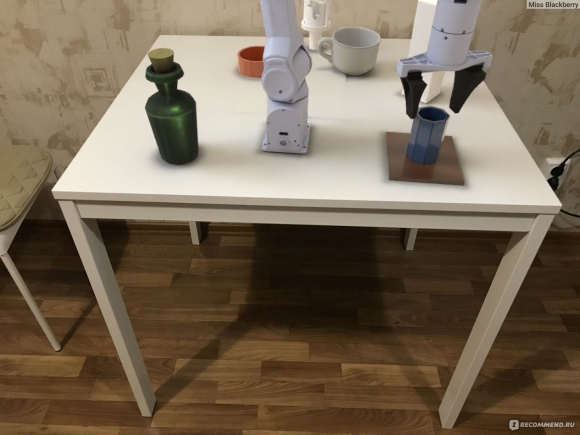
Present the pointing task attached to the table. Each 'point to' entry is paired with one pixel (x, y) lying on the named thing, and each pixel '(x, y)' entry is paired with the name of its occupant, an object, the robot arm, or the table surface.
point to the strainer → (316, 20)
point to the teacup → (352, 49)
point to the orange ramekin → (251, 61)
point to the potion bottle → (171, 109)
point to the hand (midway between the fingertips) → (432, 113)
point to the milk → (425, 46)
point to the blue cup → (427, 134)
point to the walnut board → (408, 170)
